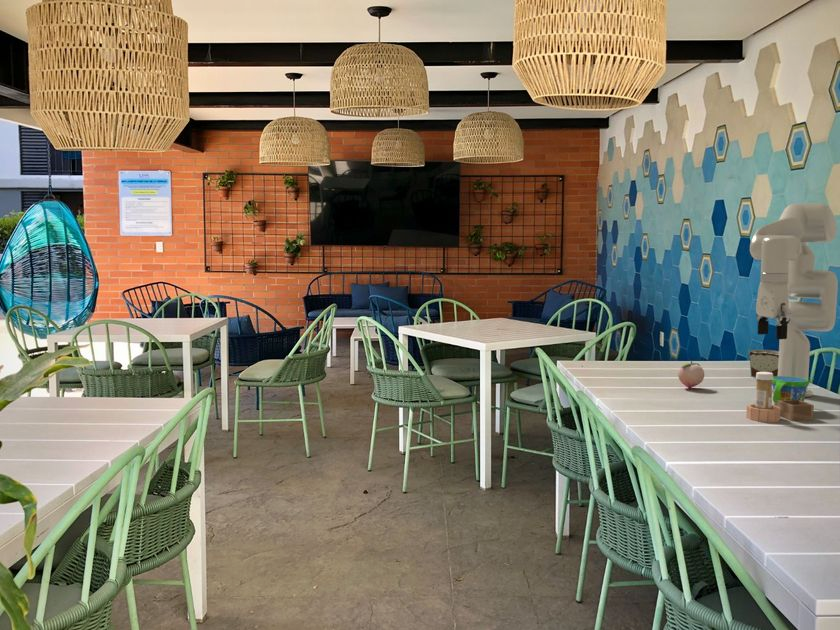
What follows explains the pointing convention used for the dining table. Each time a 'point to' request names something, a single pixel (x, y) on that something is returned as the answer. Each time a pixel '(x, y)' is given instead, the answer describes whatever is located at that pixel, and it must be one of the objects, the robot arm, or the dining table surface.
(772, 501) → the dining table surface
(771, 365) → the food container
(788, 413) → the walnut box
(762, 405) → the sprinkles bottle
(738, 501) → the dining table surface
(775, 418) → the pot
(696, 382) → the decorative fruit
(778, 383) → the snack cup
